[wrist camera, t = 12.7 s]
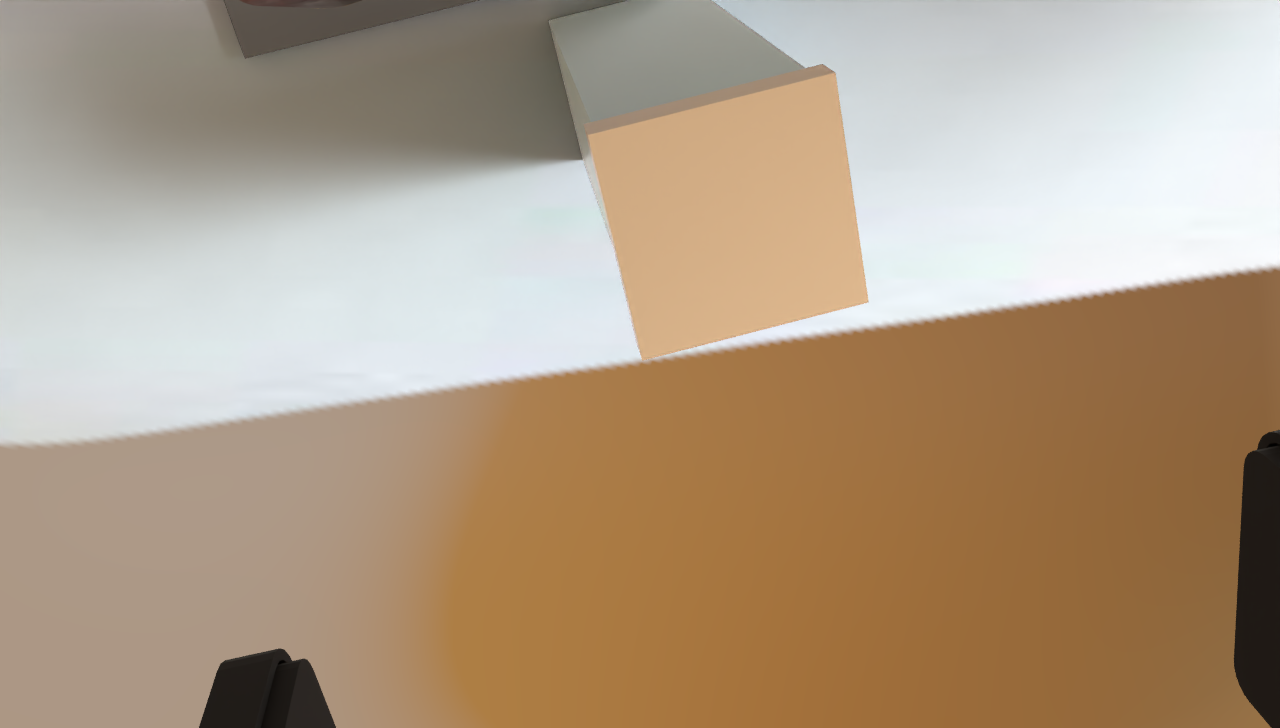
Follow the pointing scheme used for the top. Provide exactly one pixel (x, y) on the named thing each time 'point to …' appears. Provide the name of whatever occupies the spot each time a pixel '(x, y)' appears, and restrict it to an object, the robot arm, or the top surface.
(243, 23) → the plate
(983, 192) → the top surface
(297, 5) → the sauce bottle
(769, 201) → the canister
